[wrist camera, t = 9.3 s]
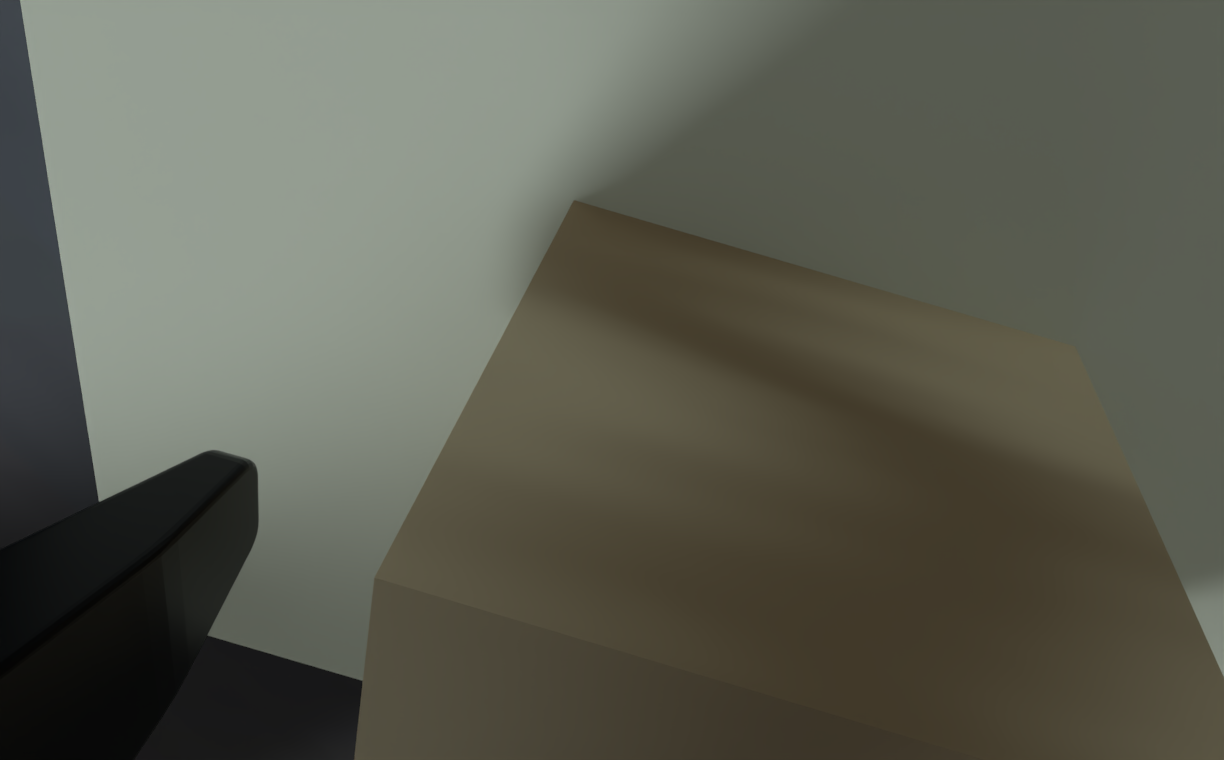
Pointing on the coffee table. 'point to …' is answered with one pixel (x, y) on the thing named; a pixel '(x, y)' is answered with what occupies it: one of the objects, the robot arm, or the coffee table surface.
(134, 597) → the robot arm
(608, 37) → the mat
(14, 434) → the coffee table surface
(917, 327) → the tan wooden cube
